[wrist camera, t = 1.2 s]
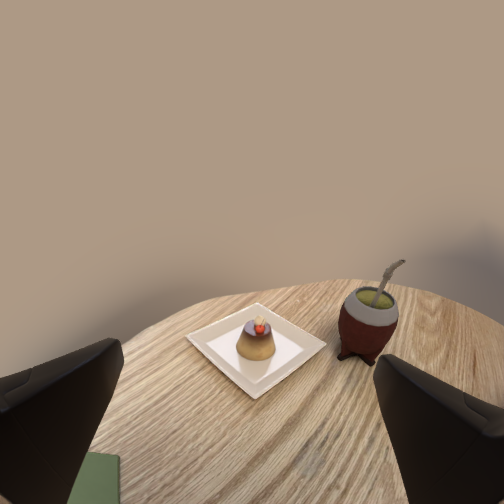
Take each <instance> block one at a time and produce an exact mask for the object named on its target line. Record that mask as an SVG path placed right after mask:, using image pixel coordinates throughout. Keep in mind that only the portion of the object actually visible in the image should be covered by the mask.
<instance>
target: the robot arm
mask: <svg viewBox="0 0 504 504" xmlns="http://www.w3.org/2000/svg"><path fill="white" fill-rule="evenodd" d="M123 365H124V357H123V352H122V347H121V343H120V341H119V340H118V339H113V338H107V339H104V340H102V341H99V342H97V343H94V344H92V345H89V346H87V347H85V348H82V349H79V350H77V351H74V352H71V353H69V354H66V355H64V356H61V357H59V358H56V359H53V360H51V361H48V362H45V363H43V364H40V365H38V366H35V367H33V368H29V369H27V370H24V371H21V372H18V373H15V374H12V375H9V376H6V377H2V378H0V504H67V502H68V499H69V497H70V494H71V491H72V488H73V486H74V483H75V481H76V478H77V475H78V473H79V470H80V468H81V466H82V463H83V461H84V458H85V456H86V454H87V451H88V449H89V447H90V444H91V442H92V440H93V438H94V435H95V433H96V431H97V429H98V426H99V424H100V422H101V420H102V418H103V416H104V413H105V411H106V409H107V407H108V405H109V403H110V401H111V398H112V396H113V393H114V390H115V387H116V385H117V382H118V379H119V376H120V373H121V370H122V368H123ZM373 380H374V384H375V388H376V393H377V397H378V401H379V406H380V410H381V413H382V417H383V420H384V423H385V425H386V428H387V431H388V434H389V437H390V440H391V443H392V447H393V450H394V453H395V456H396V459H397V463H398V466H399V469H400V473H401V476H402V480H403V483H404V487H405V490H406V494H407V498H408V502H409V504H504V409H502V408H499V407H497V406H494V405H492V404H489V403H487V402H484V401H482V400H480V399H478V398H475V397H473V396H471V395H469V394H467V393H465V392H463V391H461V390H459V389H457V388H455V387H453V386H451V385H449V384H447V383H445V382H443V381H441V380H440V379H438V378H436V377H434V376H432V375H430V374H428V373H426V372H424V371H422V370H420V369H418V368H416V367H415V366H413V365H411V364H409V363H407V362H405V361H403V360H401V359H399V358H398V357H396V356H394V355H392V354H386V355H381V356H380V357H379V359H378V362H377V365H376V368H375V370H374V374H373Z"/></svg>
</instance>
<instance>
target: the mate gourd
mask: <svg viewBox="0 0 504 504" xmlns="http://www.w3.org/2000/svg"><path fill="white" fill-rule="evenodd" d="M403 263H405V260H404V259H401V260H399V261H397V262H395V263H393V264H392V265H391V266H390V267H389V268H387V269H386V271H385V273H384V275H383V280H382V282H381V284H380V286H379V288H376V287H371V286H363V287H360V288H357V289H355V290H354V291H353V292H352V293H351V294H350V295H349V296H348V297H347V298H346V299H345V301H344V303H343V305H342V307H341V310H340V316H339V322H338V327H339V334H340V336H341V337H340V339H341V340H342V348H341V353H340V354H339V355H338V357H337V358H338V359H339V360H340V361H342V360H345V359H347V358H349V357H351V356H353V355H358V356H359V357H360V358H361V359H362V360H364V361H365V362H366V363H367V364H368V365H369V366H373V365H374V364H375V361H374V359H375V358H376V357H377V356H378V355H379V354H380V353H381V351H382V350H383V348H384V347H385V345H386V344H387V342H388V341H389V340H390V338H391V336H392V334H393V333H394V331H395V329H396V326H397V322H398V317H399V312H398V307H397V303H396V300H395V299H394V297H393V296H392V295H391V294H389V293H388V292H386V291H385V290H384V288H385V286H386V283H387V281H388V280H390V278H391V276H392V275H393V271H394V270H395V269H396V268H397V267H399V266H400V265H402V264H403Z"/></svg>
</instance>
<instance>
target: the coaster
mask: <svg viewBox="0 0 504 504" xmlns="http://www.w3.org/2000/svg"><path fill="white" fill-rule="evenodd" d="M67 504H120V497H119V456H118V455H109V454H100V453H93V452H87V454H86V456H85V458H84V461H83V463H82V466H81V468H80V470H79V473H78V475H77V478H76V481H75V483H74V486H73V488H72V491H71V494H70V497H69V499H68V502H67Z"/></svg>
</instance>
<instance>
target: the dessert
mask: <svg viewBox="0 0 504 504" xmlns="http://www.w3.org/2000/svg"><path fill="white" fill-rule="evenodd" d="M185 337H186V338H187V339H188V340H189V341H190V342H191V343H192V344H193V345H194V346H195V347H196V348H197V349H198V350H200V351H201V352H202V353H203V354H204V355H205V356H206V357H207V358H208V359H209V360H210V361H211V362H212V363H213V364H214V365H215V366H217V367H218V368H219V369H220V370H221V371H222V372H223V373H224V374H225V375H227V376H228V377H229V378H230V379H231V380H232V381H233V382H235V383H236V384H237V385H238V386H239V387H240V388H241V389H243V390H244V391H245V392H246V393H247V394H249V395H250V396H251V397H252V398H253V399H257V398H258V397H260V396H261V395H262V394H264V393H265V392H267V391H268V390H269V389H271V388H272V387H273V386H275V385H276V384H278V383H279V382H280V381H282V380H283V379H284V378H286V377H287V376H288V375H289V374H291V373H292V372H293V371H295V370H296V369H297V368H298V367H300V366H301V365H302V364H303V363H305V362H306V361H307V360H308V359H310V358H311V357H312V356H313V355H314V354H316V353H317V352H318V351H319V350H320V349H322V348H323V347H324V346H325V345H326V343H325V342H323V341H322V340H320V339H318V338H316V337H315V336H313V335H311V334H309V333H308V332H306V331H304V330H303V329H301V328H299V327H298V326H296V325H294V324H293V323H291V322H289V321H287V320H286V319H284V318H282V317H281V316H279V315H277V314H276V313H274V312H273V311H271V310H269V309H268V308H266V307H264V306H263V305H261V304H259V303H258V302H256V303H254V304H252V305H250V306H248V307H246V308H244V309H242V310H240V311H237V312H235V313H233V314H231V315H229V316H227V317H225V318H222V319H220V320H218V321H216V322H214V323H211V324H209V325H207V326H205V327H203V328H200V329H198V330H196V331H194V332H191V333H189V334H187V335H185Z"/></svg>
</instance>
